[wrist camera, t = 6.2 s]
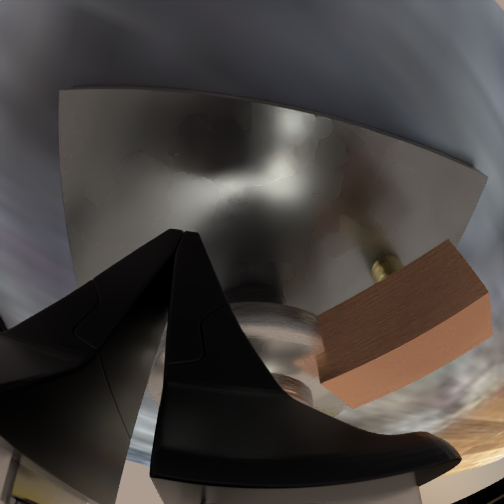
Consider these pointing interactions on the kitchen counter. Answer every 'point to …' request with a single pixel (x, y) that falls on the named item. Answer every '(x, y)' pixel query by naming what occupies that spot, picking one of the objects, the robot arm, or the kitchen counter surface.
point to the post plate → (253, 191)
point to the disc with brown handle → (367, 334)
